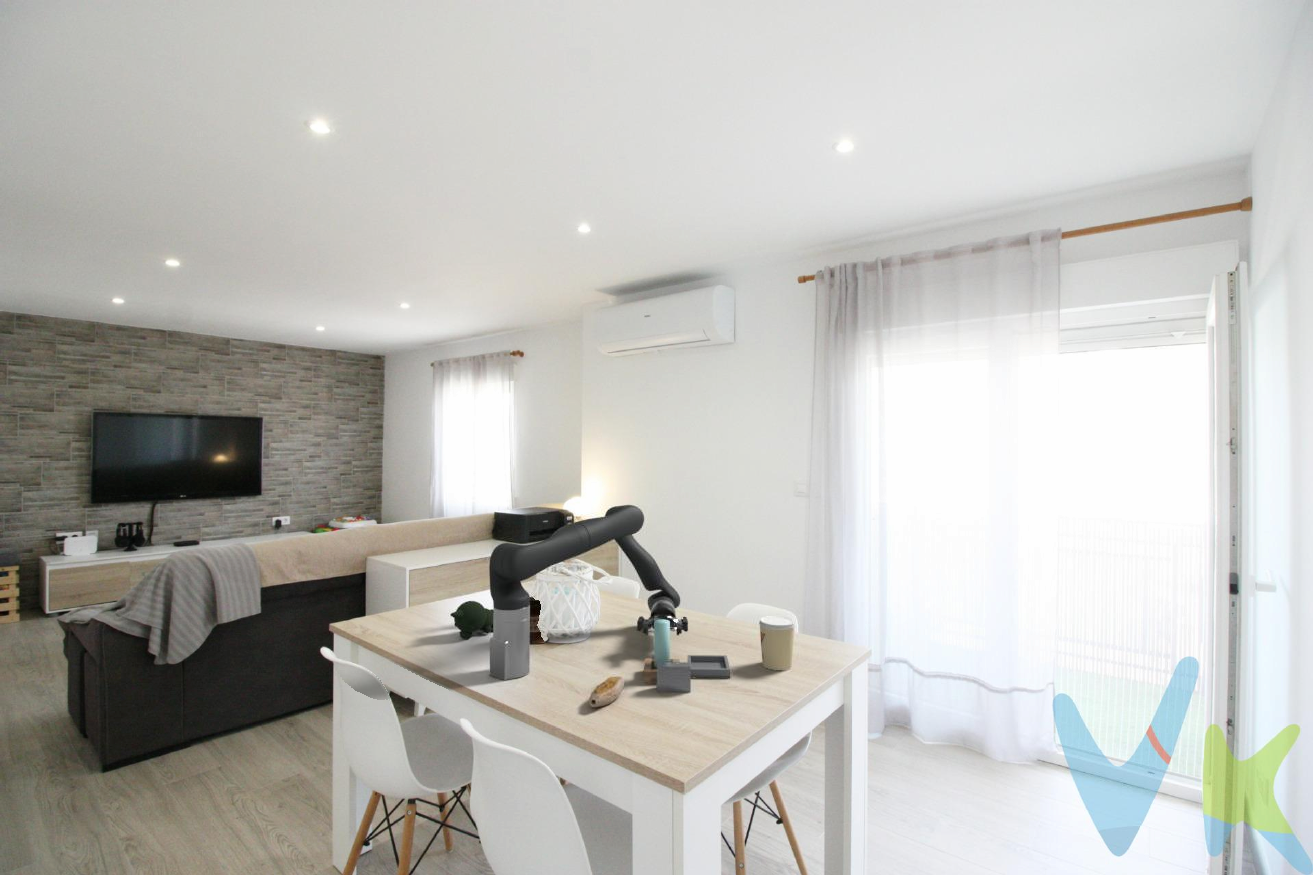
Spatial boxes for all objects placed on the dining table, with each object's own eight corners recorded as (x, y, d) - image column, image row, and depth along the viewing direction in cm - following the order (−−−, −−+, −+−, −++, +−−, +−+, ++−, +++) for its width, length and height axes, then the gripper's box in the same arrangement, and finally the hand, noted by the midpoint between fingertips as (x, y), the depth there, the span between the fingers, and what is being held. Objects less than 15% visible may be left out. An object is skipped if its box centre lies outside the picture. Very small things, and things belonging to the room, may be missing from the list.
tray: (730, 677, 152) (730, 669, 152) (688, 677, 152) (688, 669, 152) (726, 663, 163) (726, 655, 163) (687, 662, 163) (687, 654, 163)
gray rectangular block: (690, 692, 143) (690, 666, 143) (657, 691, 143) (657, 666, 143) (690, 687, 146) (690, 662, 146) (657, 686, 146) (657, 661, 146)
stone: (581, 710, 133) (581, 690, 133) (612, 687, 146) (612, 669, 146) (601, 714, 131) (602, 694, 131) (631, 691, 144) (631, 673, 144)
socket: (679, 683, 148) (679, 671, 148) (643, 683, 148) (643, 671, 148) (679, 670, 157) (679, 658, 157) (645, 670, 157) (645, 658, 157)
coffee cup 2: (764, 657, 167) (764, 614, 167) (798, 662, 163) (798, 618, 163) (755, 668, 159) (754, 622, 159) (790, 674, 155) (790, 627, 155)
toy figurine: (498, 627, 201) (437, 640, 180) (502, 569, 203) (442, 576, 182) (519, 631, 197) (459, 645, 175) (523, 572, 199) (464, 579, 177)
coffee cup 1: (545, 646, 176) (545, 601, 177) (519, 644, 178) (519, 600, 178) (556, 637, 185) (556, 595, 185) (531, 635, 187) (531, 593, 187)
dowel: (663, 681, 150) (663, 624, 150) (651, 677, 152) (651, 622, 153) (672, 676, 153) (672, 621, 153) (660, 672, 156) (660, 618, 156)
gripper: (639, 602, 179) (636, 617, 163) (686, 602, 179) (688, 617, 163) (639, 627, 179) (636, 645, 163) (686, 628, 179) (688, 645, 163)
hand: (662, 631), depth 163 cm, fingers open, 8 cm apart
